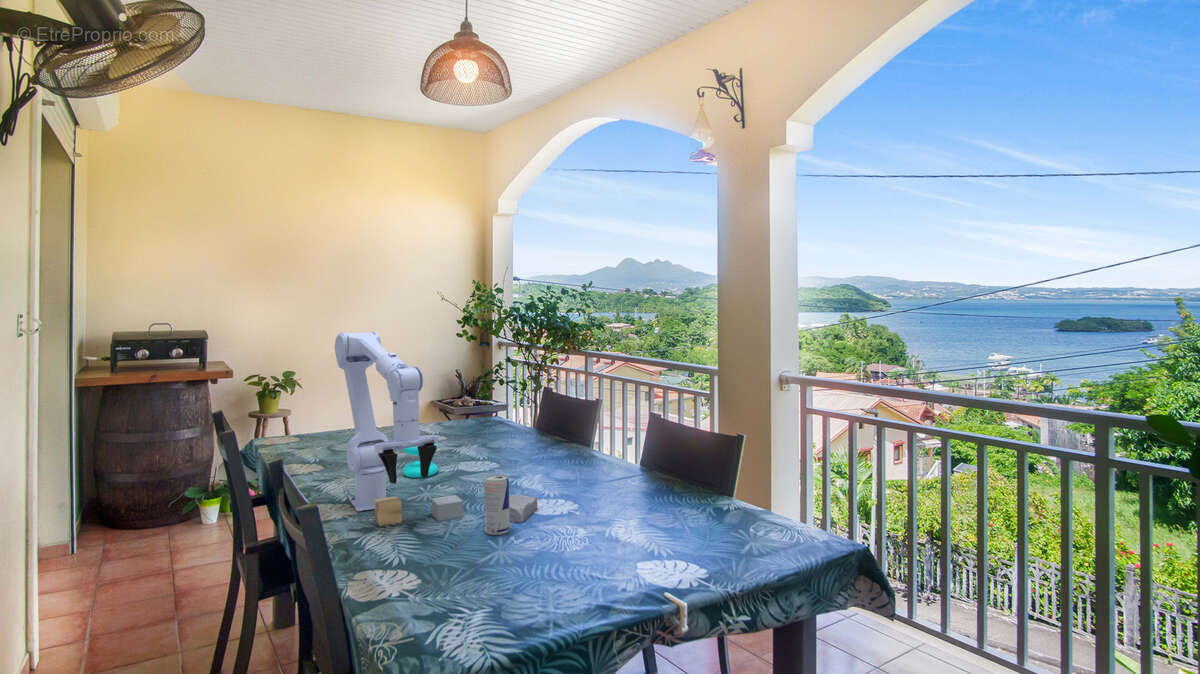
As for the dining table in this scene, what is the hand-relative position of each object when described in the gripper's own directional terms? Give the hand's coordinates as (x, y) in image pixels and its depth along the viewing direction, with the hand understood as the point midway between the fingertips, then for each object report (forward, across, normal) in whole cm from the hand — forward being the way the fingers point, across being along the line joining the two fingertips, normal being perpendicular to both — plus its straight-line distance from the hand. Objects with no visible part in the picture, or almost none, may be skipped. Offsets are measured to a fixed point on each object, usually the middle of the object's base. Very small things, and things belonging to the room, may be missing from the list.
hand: (409, 479), depth 146 cm
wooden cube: (+10, -3, +5) cm, 12 cm away
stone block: (+11, +21, -10) cm, 26 cm away
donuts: (+9, +23, +41) cm, 47 cm away
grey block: (+10, +9, 0) cm, 14 cm away
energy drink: (+11, +12, -18) cm, 24 cm away
